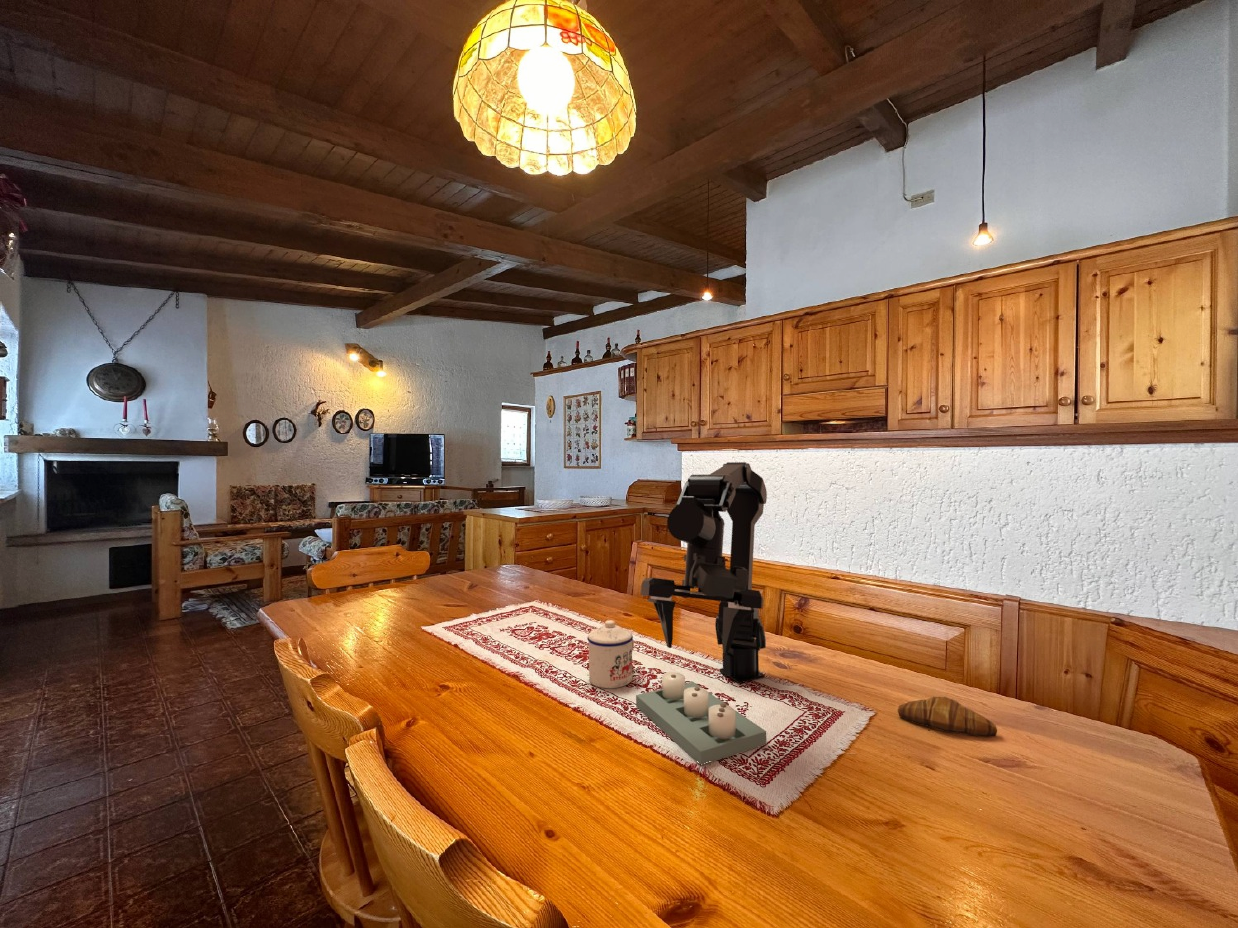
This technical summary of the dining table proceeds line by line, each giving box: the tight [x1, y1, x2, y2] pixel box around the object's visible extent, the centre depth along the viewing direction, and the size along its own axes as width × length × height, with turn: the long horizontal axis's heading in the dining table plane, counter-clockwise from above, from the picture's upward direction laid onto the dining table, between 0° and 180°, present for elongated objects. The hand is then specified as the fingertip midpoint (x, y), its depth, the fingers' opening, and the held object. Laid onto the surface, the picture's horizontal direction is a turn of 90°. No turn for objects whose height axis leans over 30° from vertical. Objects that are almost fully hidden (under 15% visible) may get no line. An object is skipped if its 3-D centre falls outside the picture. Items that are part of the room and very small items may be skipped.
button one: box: [661, 671, 686, 700], centre depth 91 cm, size 4×4×3 cm
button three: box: [709, 702, 736, 739], centre depth 79 cm, size 4×4×3 cm
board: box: [635, 681, 767, 765], centre depth 85 cm, size 12×20×2 cm, turn 26°
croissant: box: [897, 696, 998, 738], centre depth 83 cm, size 14×7×5 cm, turn 60°
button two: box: [684, 687, 709, 718], centre depth 85 cm, size 4×4×3 cm
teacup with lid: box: [586, 619, 635, 689], centre depth 104 cm, size 12×9×12 cm
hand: (697, 650), depth 80 cm, fingers open, 9 cm apart
